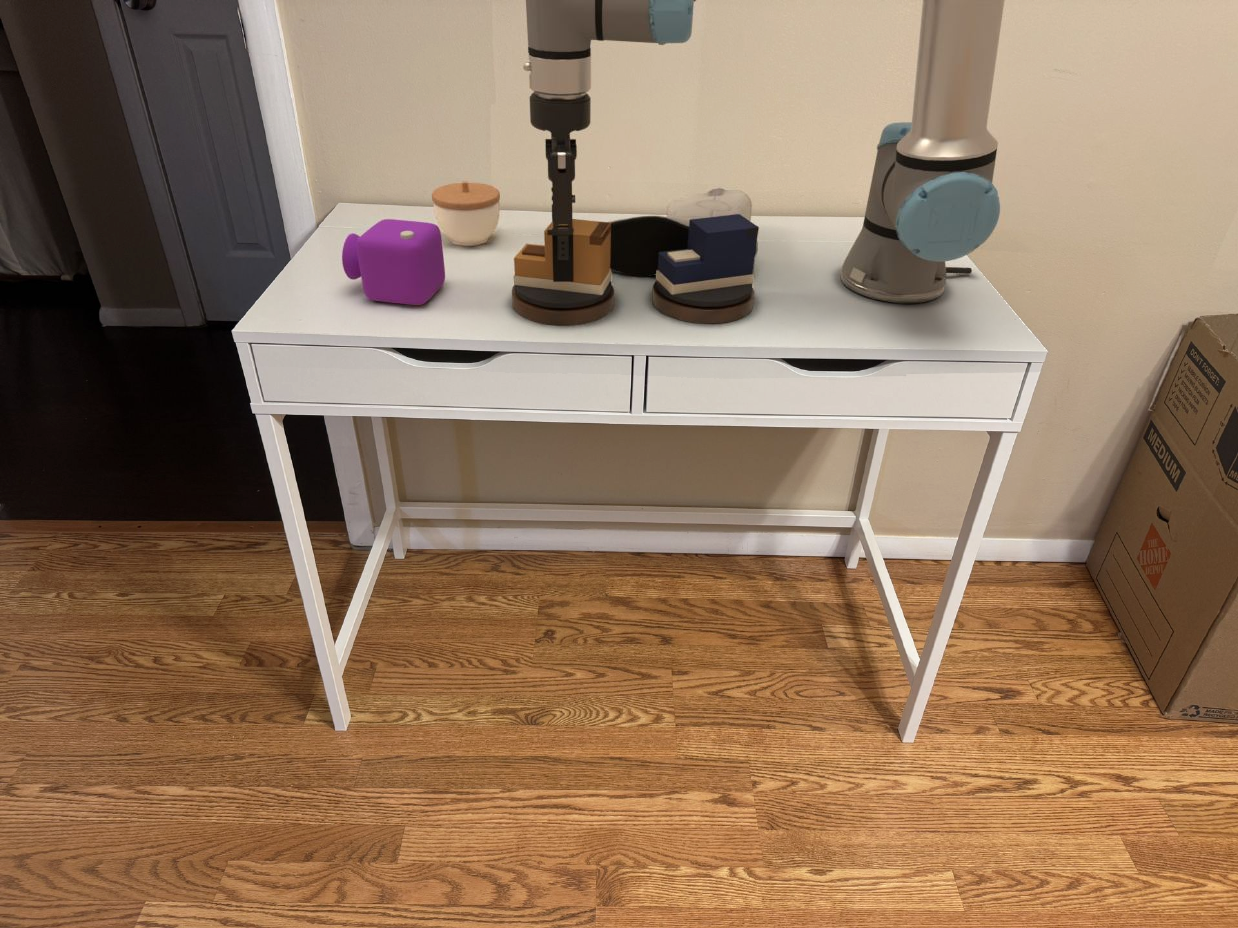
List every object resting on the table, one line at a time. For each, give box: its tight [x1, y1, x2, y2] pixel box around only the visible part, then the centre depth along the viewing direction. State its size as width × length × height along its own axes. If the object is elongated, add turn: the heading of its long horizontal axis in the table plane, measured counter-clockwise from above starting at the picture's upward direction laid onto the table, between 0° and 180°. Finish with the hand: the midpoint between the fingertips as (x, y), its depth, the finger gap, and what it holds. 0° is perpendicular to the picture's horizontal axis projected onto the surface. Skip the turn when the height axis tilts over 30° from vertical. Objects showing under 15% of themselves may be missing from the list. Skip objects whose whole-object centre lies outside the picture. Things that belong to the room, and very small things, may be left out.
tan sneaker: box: [513, 218, 613, 308], centre depth 114 cm, size 14×14×9 cm
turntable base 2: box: [652, 280, 755, 325], centre depth 119 cm, size 14×14×2 cm
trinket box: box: [431, 180, 501, 247], centre depth 135 cm, size 11×11×9 cm
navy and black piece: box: [655, 214, 760, 307], centre depth 116 cm, size 14×14×9 cm
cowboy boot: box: [608, 187, 759, 278], centre depth 134 cm, size 10×28×25 cm
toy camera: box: [341, 218, 446, 306], centre depth 117 cm, size 11×14×10 cm
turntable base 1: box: [511, 285, 615, 326], centre depth 118 cm, size 14×14×2 cm
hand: (562, 265), depth 115 cm, fingers open, 10 cm apart
